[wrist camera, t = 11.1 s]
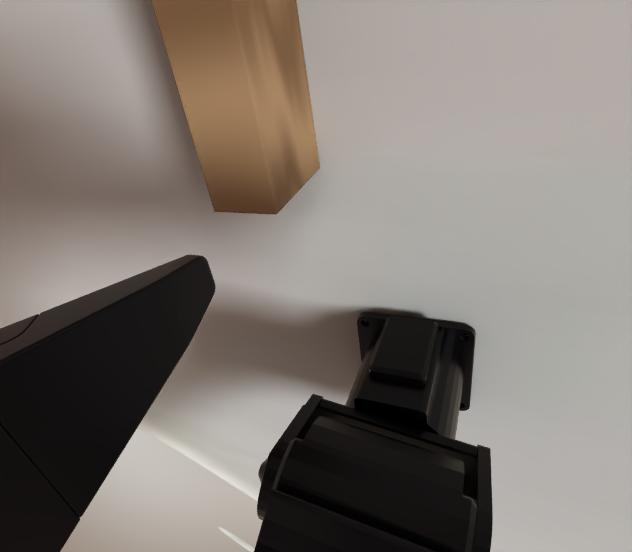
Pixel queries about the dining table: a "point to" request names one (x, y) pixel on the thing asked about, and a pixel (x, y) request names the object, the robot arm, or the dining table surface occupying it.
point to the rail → (243, 97)
